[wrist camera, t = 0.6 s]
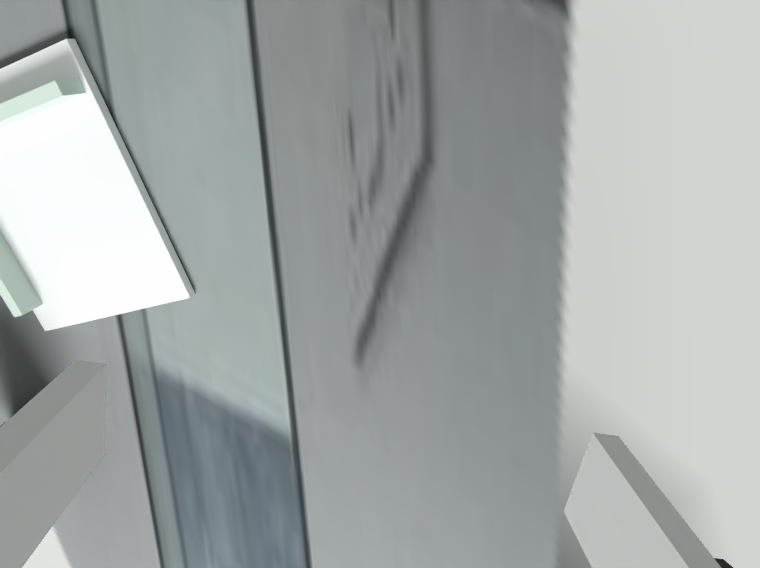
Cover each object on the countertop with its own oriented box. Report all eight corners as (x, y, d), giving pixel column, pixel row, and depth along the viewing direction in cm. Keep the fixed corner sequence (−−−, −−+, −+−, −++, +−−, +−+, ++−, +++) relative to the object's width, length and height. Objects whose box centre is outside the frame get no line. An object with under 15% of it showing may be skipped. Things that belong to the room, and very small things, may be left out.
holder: (-78, 107, 41) (-118, 112, 38) (74, 38, 36) (41, 38, 33) (52, 326, 48) (25, 343, 45) (195, 293, 43) (175, 309, 40)
